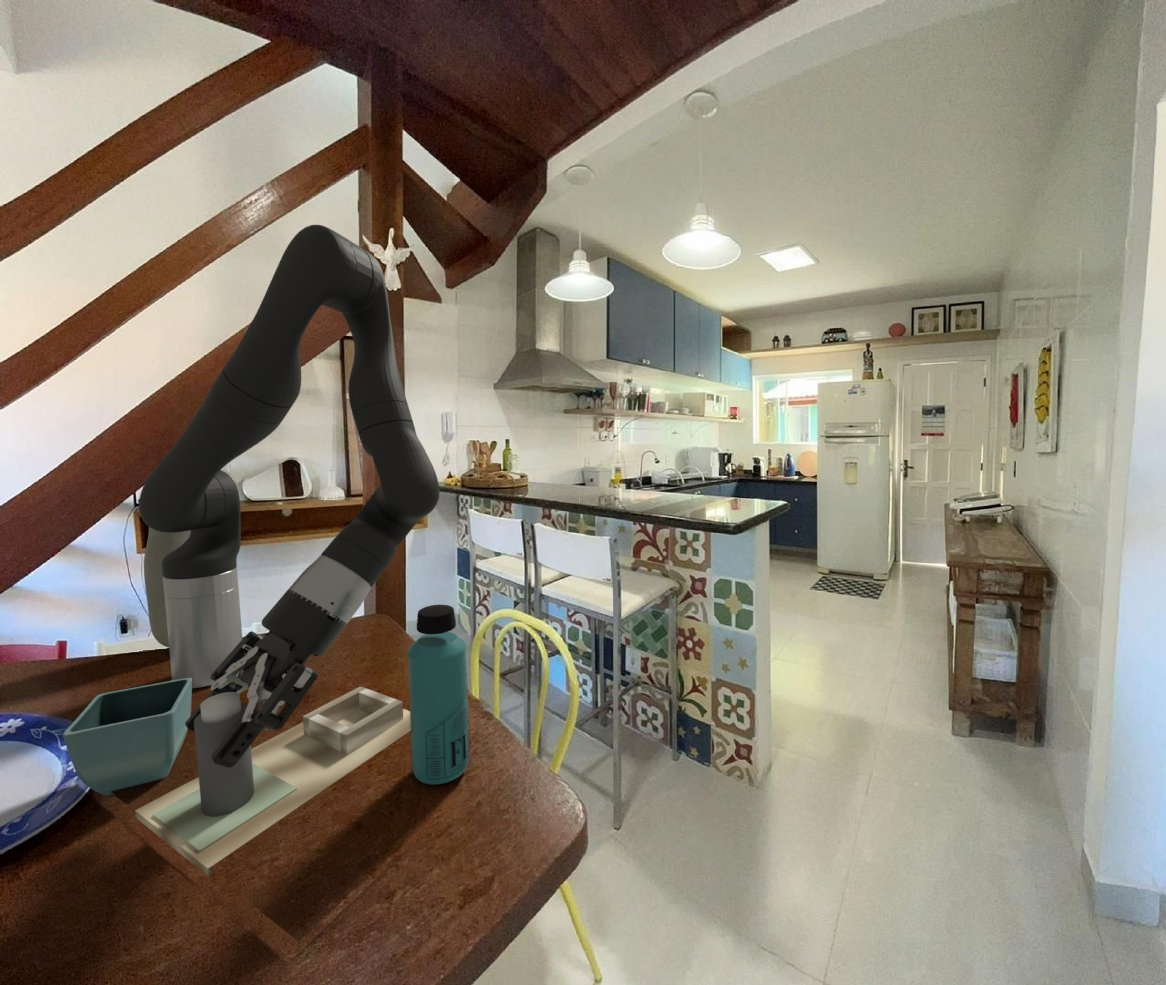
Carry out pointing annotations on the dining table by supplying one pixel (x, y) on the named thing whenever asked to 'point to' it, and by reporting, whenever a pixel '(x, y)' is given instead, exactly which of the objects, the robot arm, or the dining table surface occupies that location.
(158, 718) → the flower pot
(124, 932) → the dining table surface
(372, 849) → the dining table surface
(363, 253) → the robot arm
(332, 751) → the cream tray
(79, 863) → the dining table surface
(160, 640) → the grey tall rounded piece
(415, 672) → the beverage bottle
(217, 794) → the grey capped cylinder
